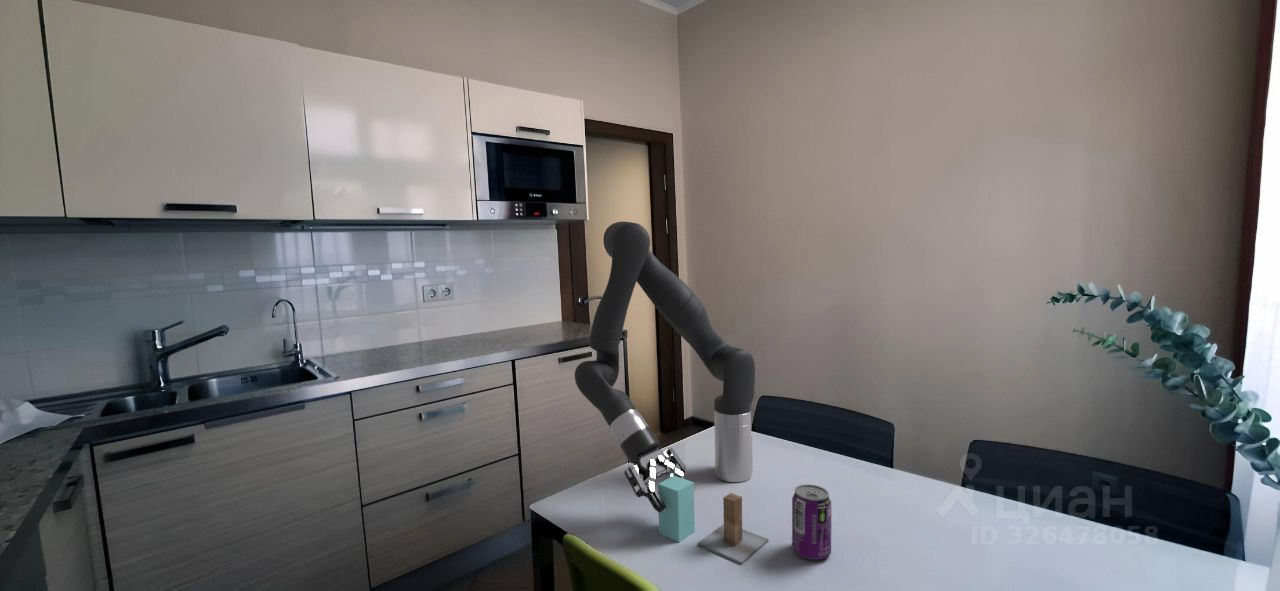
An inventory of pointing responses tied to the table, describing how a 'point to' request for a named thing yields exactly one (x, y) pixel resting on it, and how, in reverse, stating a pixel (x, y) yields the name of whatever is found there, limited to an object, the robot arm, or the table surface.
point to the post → (733, 534)
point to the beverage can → (811, 522)
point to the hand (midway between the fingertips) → (676, 502)
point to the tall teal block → (676, 508)
